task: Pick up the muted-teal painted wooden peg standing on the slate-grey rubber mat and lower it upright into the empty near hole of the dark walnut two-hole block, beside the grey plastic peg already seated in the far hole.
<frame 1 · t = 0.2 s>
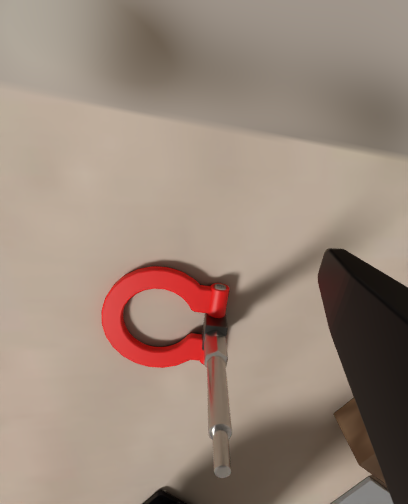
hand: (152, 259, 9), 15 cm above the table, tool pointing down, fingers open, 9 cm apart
tow hook: (164, 314, 28), on the table
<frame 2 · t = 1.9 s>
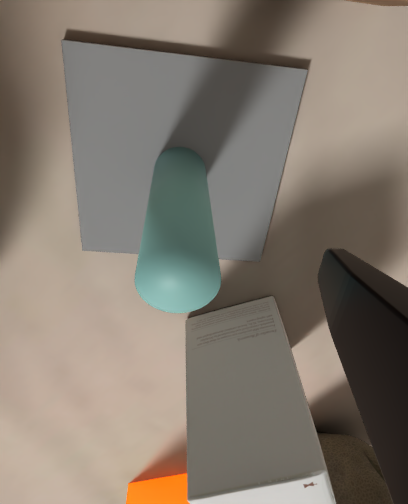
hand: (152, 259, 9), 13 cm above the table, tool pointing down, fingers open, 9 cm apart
supplement box: (239, 334, 30), on the table
teal peg: (179, 172, 21), resting on mat
orange juice: (171, 488, 45), on the table
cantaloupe: (317, 441, 40), on the table
mat: (180, 169, 21), on the table
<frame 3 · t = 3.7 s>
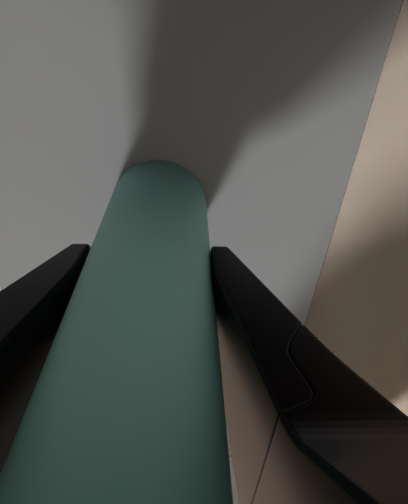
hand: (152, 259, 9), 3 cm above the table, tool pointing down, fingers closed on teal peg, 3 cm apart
teal peg: (159, 204, 11), resting on mat, touching gripper
mat: (160, 199, 12), on the table
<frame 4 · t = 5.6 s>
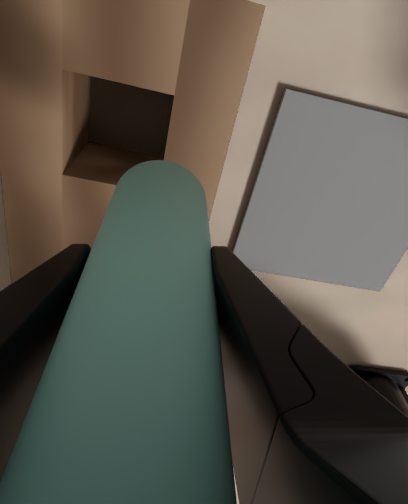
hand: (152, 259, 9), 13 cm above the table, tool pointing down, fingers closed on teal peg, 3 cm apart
teal peg: (160, 204, 11), point 10 cm above the table, touching gripper
hole block: (121, 206, 23), on the table
mat: (339, 205, 23), on the table
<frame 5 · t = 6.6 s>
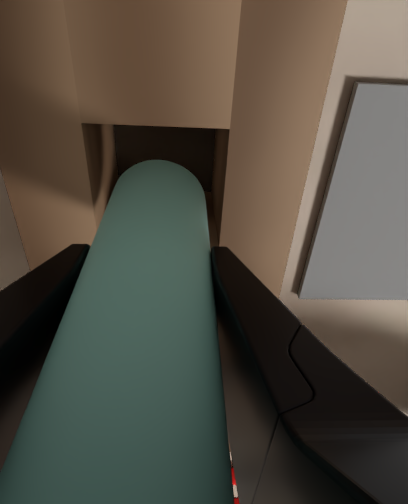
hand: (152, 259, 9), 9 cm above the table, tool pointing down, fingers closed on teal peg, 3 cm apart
teal peg: (159, 204, 11), point 6 cm above the table, touching gripper
hole block: (166, 252, 20), on the table
when the fingers open (6 cm above the table, at t = 7.3 s): teal peg drops 3 cm, resting in hole block.
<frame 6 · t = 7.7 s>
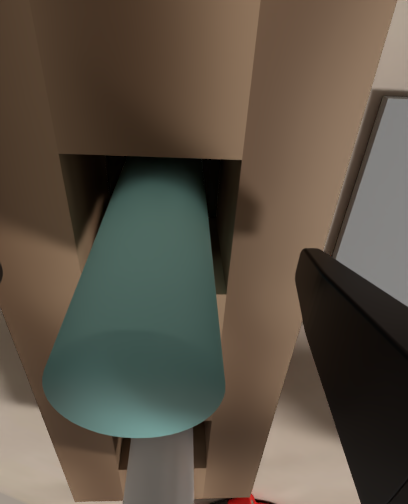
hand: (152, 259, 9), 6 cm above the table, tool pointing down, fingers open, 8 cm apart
teal peg: (165, 167, 14), resting in hole block
hole block: (165, 282, 18), on the table
grey peg: (166, 360, 21), resting in hole block
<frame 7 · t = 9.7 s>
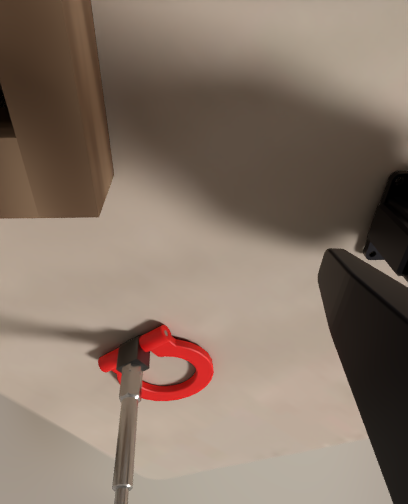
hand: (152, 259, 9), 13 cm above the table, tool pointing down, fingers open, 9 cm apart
tow hook: (163, 362, 32), on the table
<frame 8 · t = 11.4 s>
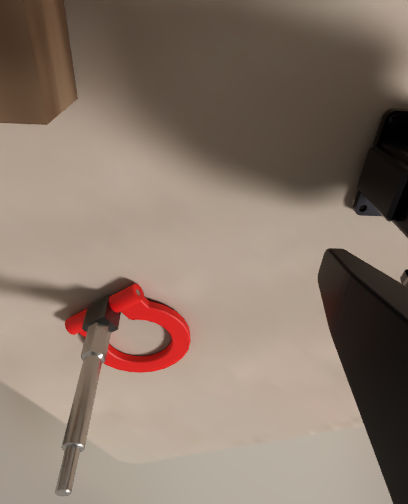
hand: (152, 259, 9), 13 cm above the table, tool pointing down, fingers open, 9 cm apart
tow hook: (137, 328, 30), on the table
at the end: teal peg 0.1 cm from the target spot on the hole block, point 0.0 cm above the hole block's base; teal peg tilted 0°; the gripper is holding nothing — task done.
